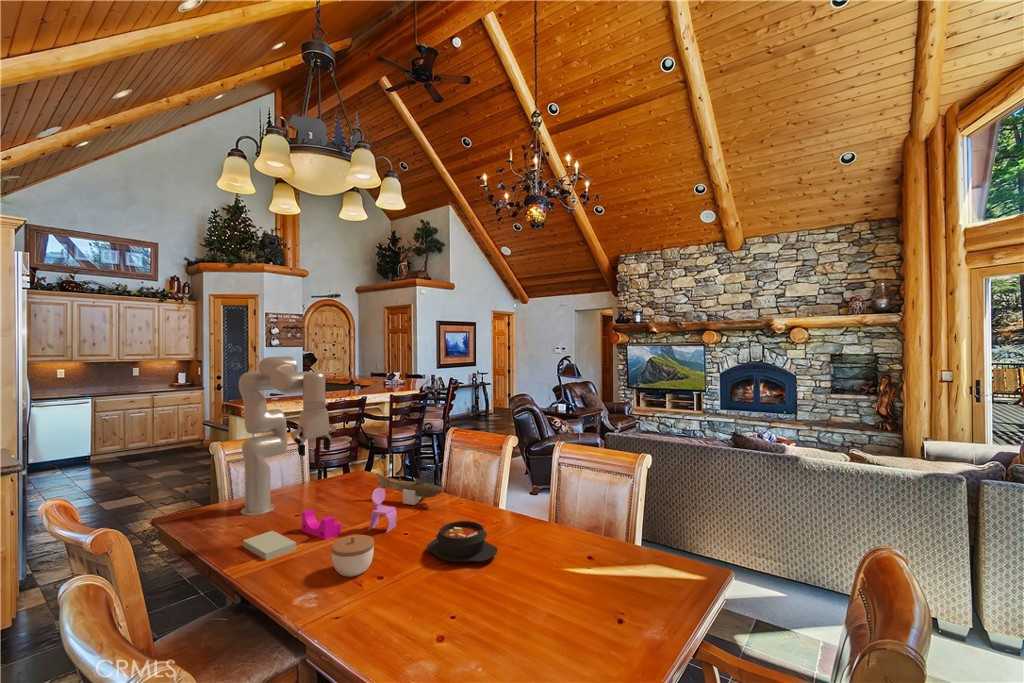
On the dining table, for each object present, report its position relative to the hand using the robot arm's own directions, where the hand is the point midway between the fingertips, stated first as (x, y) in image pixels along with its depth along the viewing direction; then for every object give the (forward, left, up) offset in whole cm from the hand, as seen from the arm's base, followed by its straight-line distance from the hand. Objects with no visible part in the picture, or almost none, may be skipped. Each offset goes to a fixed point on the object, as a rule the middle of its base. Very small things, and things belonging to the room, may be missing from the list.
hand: (314, 452), depth 167 cm
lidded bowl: (+34, -7, -31) cm, 47 cm away
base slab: (-3, -15, -32) cm, 35 cm away
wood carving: (-1, +45, -31) cm, 55 cm away
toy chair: (+14, +20, -31) cm, 40 cm away
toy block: (-1, +3, -32) cm, 32 cm away
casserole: (+53, +22, -32) cm, 65 cm away
